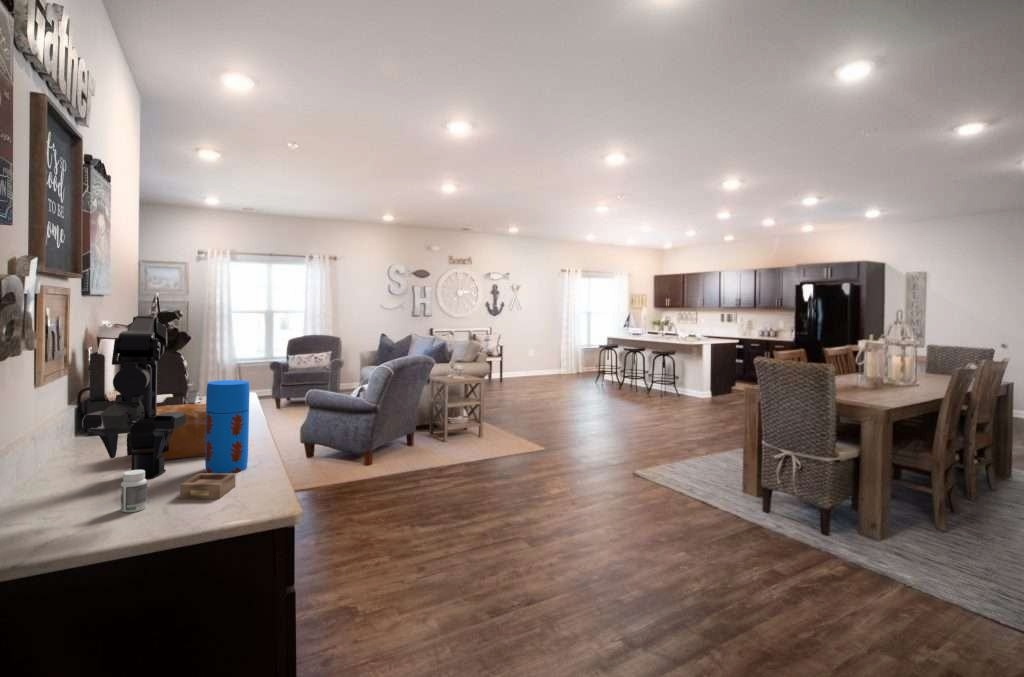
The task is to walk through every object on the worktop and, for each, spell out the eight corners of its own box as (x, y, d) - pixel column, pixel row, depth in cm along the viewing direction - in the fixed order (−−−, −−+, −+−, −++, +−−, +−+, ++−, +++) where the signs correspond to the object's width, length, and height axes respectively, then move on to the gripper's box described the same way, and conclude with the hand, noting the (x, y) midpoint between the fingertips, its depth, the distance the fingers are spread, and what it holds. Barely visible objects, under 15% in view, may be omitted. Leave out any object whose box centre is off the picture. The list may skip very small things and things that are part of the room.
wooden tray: (179, 499, 123) (179, 484, 123) (198, 486, 132) (198, 473, 132) (219, 499, 124) (219, 484, 124) (235, 486, 133) (235, 473, 133)
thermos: (217, 477, 140) (219, 385, 139) (197, 469, 145) (198, 382, 145) (255, 468, 149) (257, 382, 148) (235, 461, 155) (236, 379, 154)
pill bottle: (151, 506, 117) (152, 470, 117) (131, 514, 113) (132, 476, 112) (135, 504, 119) (136, 468, 118) (115, 511, 114) (115, 473, 114)
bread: (233, 454, 163) (234, 405, 163) (130, 465, 147) (131, 411, 147) (226, 444, 174) (227, 398, 174) (130, 454, 158) (131, 404, 158)
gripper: (63, 393, 106) (62, 468, 106) (160, 395, 108) (159, 468, 108) (99, 386, 117) (99, 454, 117) (187, 388, 119) (186, 454, 120)
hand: (135, 458), depth 115 cm, fingers open, 9 cm apart
